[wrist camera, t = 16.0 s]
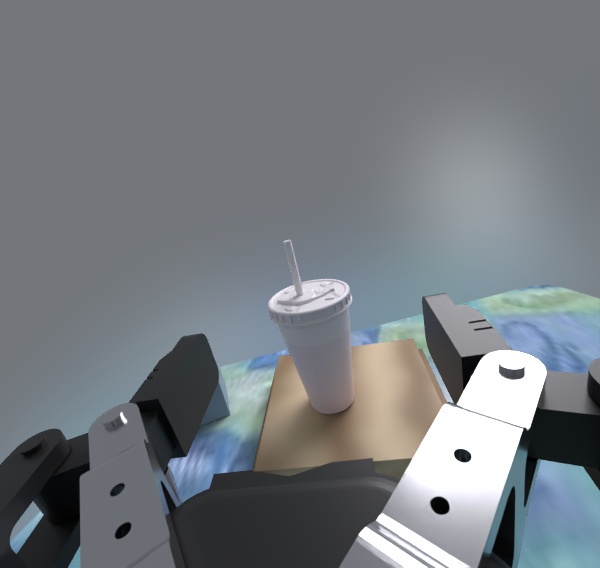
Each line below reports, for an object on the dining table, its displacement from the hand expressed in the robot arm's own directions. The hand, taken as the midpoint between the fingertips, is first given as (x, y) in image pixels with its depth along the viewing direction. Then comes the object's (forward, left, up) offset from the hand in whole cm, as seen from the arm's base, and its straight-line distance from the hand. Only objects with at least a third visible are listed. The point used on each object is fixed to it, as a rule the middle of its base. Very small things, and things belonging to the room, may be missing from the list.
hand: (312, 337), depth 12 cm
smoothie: (+1, -13, -14) cm, 18 cm away
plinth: (0, -13, -17) cm, 22 cm away
